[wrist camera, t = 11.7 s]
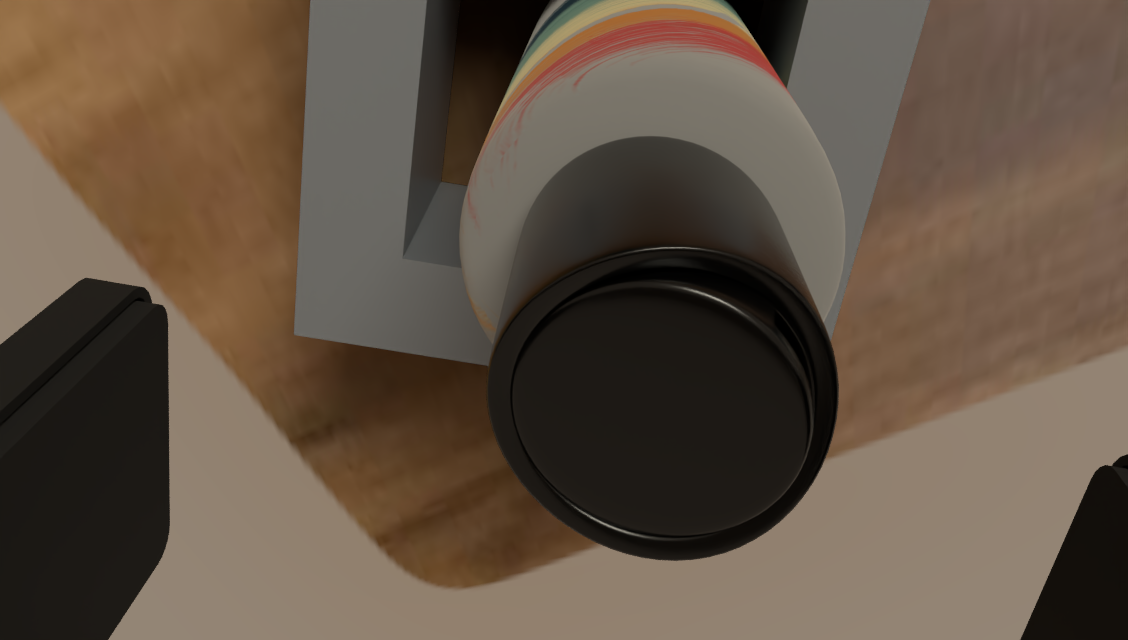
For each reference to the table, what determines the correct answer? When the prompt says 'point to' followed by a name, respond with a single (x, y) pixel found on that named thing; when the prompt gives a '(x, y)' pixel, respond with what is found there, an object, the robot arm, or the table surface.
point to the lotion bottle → (655, 278)
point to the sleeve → (433, 208)
